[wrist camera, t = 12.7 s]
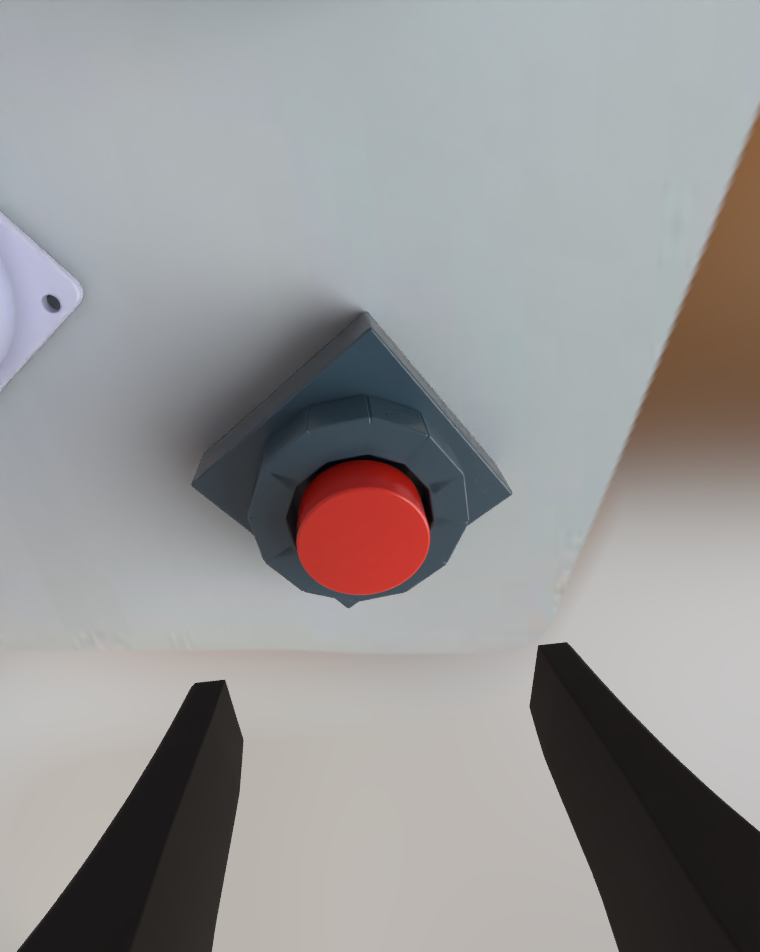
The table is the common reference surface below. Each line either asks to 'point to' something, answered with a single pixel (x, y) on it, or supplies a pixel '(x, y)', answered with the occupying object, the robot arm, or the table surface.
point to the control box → (349, 451)
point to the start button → (361, 528)
